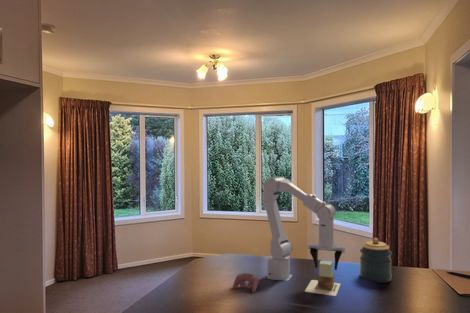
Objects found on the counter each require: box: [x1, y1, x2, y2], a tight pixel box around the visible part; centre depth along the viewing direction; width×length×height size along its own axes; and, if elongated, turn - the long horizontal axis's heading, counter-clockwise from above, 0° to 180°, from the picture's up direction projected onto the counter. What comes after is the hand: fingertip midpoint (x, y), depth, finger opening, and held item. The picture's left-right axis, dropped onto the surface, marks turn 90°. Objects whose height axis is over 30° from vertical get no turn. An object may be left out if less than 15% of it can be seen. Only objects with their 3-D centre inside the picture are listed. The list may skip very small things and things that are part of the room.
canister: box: [359, 237, 393, 284], centre depth 163 cm, size 13×13×18 cm
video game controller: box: [232, 272, 260, 293], centre depth 152 cm, size 10×5×7 cm, turn 66°
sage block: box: [318, 260, 333, 277], centre depth 151 cm, size 4×4×5 cm
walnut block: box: [317, 272, 335, 290], centre depth 152 cm, size 6×6×5 cm
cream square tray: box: [304, 279, 341, 297], centre depth 151 cm, size 12×14×1 cm
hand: (326, 268), depth 152 cm, fingers open, 7 cm apart
